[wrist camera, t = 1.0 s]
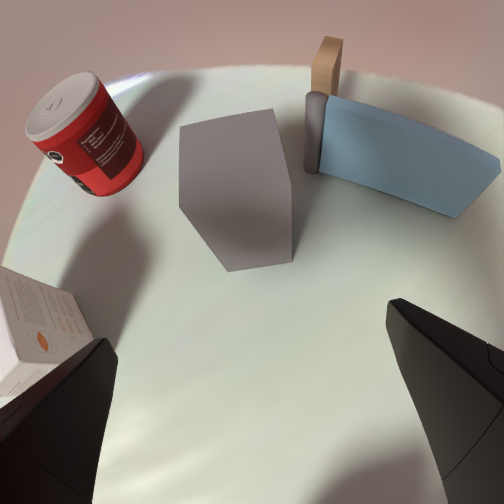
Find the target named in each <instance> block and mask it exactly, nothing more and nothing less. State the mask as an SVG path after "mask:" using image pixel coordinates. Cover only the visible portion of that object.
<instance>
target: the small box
mask: <svg viewBox="0 0 504 504" xmlns="http://www.w3.org/2000/svg"><path fill="white" fill-rule="evenodd" d="M92 340H94V337H93V335H92V333H91V332H90V330H89V328H88V326H87V324H86V322H85V319H84V317H83V315H82V313H81V311H80V309H79V307H78V305H77V303H76V301H75V298H74V296H73V294H71V293H68V292H66V291H63V290H60V289H58V288H55V287H52V286H50V285H47V284H44V283H42V282H39V281H37V280H34V279H32V278H29V277H27V276H24V275H22V274H19V273H17V272H14V271H12V270H10V269H7V268H5V267H3V266H0V397H1V396H3V397H7V396H19V395H20V394H21V393H23V392H24V391H26V390H27V389H28V388H29V387H31V386H32V385H33V384H34V383H36V382H37V381H38V380H40V379H41V378H42V377H44V376H45V375H46V374H48V373H49V372H50V371H52V370H53V369H55V368H56V367H57V366H59V365H60V364H61V363H63V362H64V361H65V360H67V359H68V358H69V357H71V356H72V355H73V354H75V353H76V352H77V351H79V350H80V349H82V348H83V347H84V346H86V345H87V344H88V343H90V342H91V341H92Z"/></svg>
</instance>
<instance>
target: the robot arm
mask: <svg viewBox="0 0 504 504" xmlns="http://www.w3.org/2000/svg"><path fill="white" fill-rule="evenodd" d="M386 329H387V332H388V335H389V338H390V341H391V344H392V347H393V350H394V353H395V357H396V360H397V363H398V366H399V369H400V372H401V374H402V376H403V379H404V381H405V383H406V386H407V388H408V390H409V393H410V395H411V398H412V400H413V402H414V405H415V407H416V410H417V412H418V415H419V417H420V420H421V423H422V425H423V428H424V430H425V433H426V436H427V438H428V441H429V444H430V447H431V449H432V452H433V455H434V458H435V461H436V464H437V467H438V470H439V473H440V476H441V479H442V481H443V482H442V483H443V486H444V489H445V493H446V496H447V499H448V503H449V504H504V351H502V350H500V349H498V348H496V347H495V346H493V345H491V344H489V343H488V344H487V343H486V342H485V341H483V340H481V339H479V338H478V337H476V336H474V335H472V334H470V333H468V332H466V331H464V330H462V329H461V328H459V327H457V326H455V325H453V324H451V323H449V322H447V321H445V320H443V319H441V318H439V317H438V316H436V315H434V314H432V313H430V312H428V311H426V310H424V309H422V308H420V307H418V306H416V305H414V304H412V303H410V302H408V301H406V300H404V299H402V298H398V299H393V300H390V301H389V302H388V305H387V315H386ZM117 365H118V357H117V355H116V353H115V351H114V349H113V347H112V346H111V344H110V342H109V340H108V339H107V338H95V339H94V340H92V341H91V342H90V343H88V344H87V345H86V346H84V347H83V348H82V349H80V350H79V351H77V352H76V353H75V354H73V355H72V356H71V357H69V358H68V359H67V360H65V361H64V362H63V363H61V364H60V365H59V366H57V367H56V368H55V369H53V370H52V371H50V372H49V373H48V374H46V375H45V376H44V377H42V378H41V379H40V380H38V381H37V382H36V383H34V384H33V385H32V386H31V387H29V388H28V389H27V390H26V391H24V392H23V393H21V394H20V395H19V396H17V397H16V398H15V399H13V400H12V401H11V402H9V403H8V404H6V405H5V406H3V407H2V408H0V504H92V499H93V492H94V486H95V479H96V473H97V468H98V462H99V457H100V452H101V447H102V442H103V437H104V432H105V428H106V423H107V419H108V415H109V411H110V406H111V402H112V397H113V391H114V384H115V377H116V371H117Z"/></svg>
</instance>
